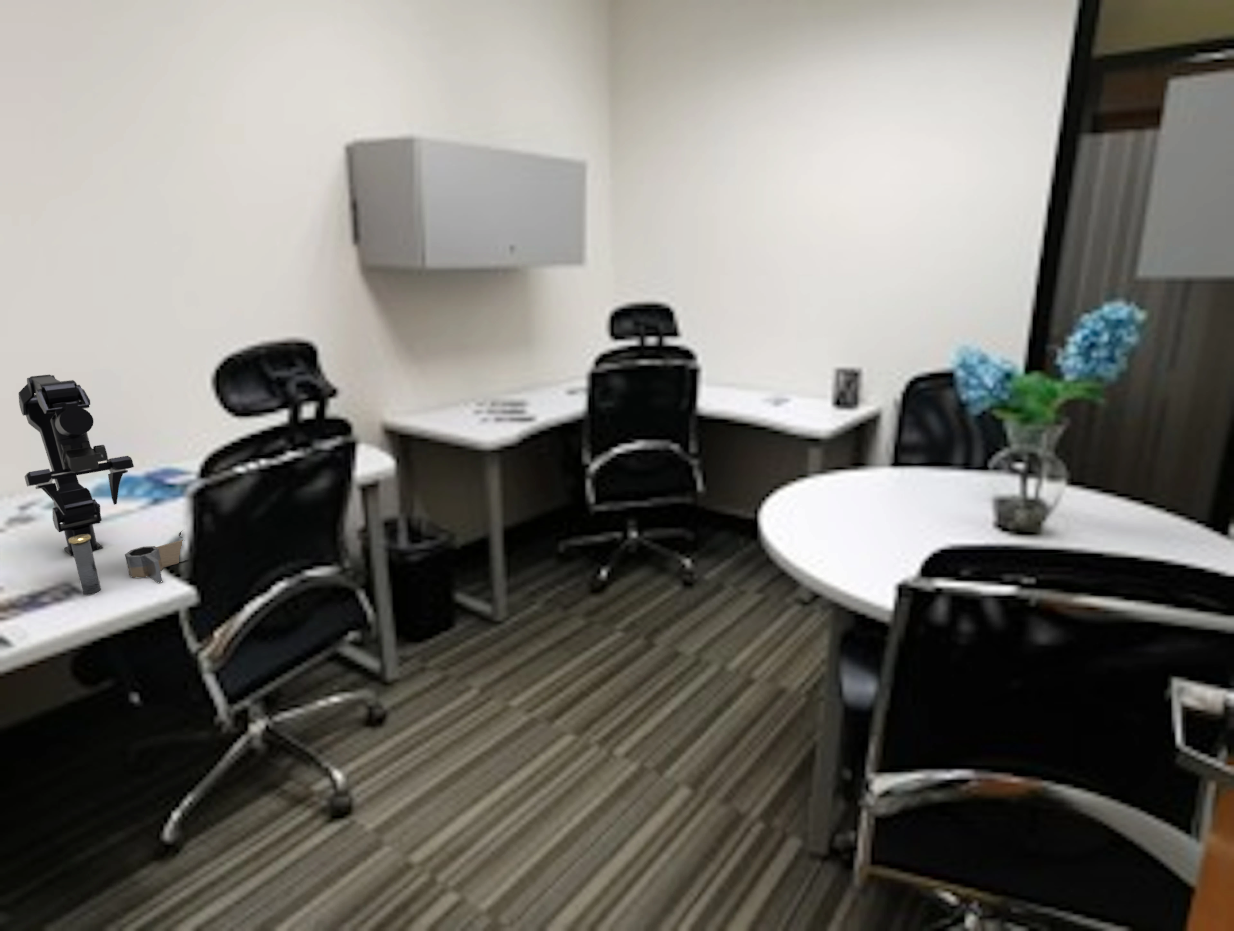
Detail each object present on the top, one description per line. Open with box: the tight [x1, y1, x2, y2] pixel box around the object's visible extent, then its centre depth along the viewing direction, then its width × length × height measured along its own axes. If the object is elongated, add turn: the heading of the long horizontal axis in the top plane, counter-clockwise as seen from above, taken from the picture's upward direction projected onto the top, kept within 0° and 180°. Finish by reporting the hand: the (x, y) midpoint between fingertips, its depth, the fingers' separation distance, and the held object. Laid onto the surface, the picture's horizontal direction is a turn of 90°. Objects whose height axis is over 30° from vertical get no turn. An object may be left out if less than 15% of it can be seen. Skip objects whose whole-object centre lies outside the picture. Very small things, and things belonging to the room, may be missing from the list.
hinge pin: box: [68, 534, 102, 596], centre depth 155 cm, size 4×4×12 cm
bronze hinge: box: [124, 539, 184, 583], centre depth 165 cm, size 12×12×5 cm
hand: (90, 509), depth 160 cm, fingers open, 9 cm apart
